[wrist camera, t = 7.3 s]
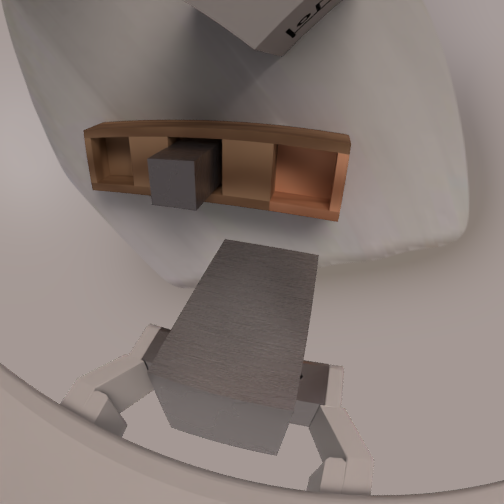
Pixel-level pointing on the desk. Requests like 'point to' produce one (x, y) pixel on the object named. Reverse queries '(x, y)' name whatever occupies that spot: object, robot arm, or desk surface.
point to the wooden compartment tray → (231, 162)
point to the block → (185, 172)
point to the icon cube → (266, 20)
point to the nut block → (239, 347)
